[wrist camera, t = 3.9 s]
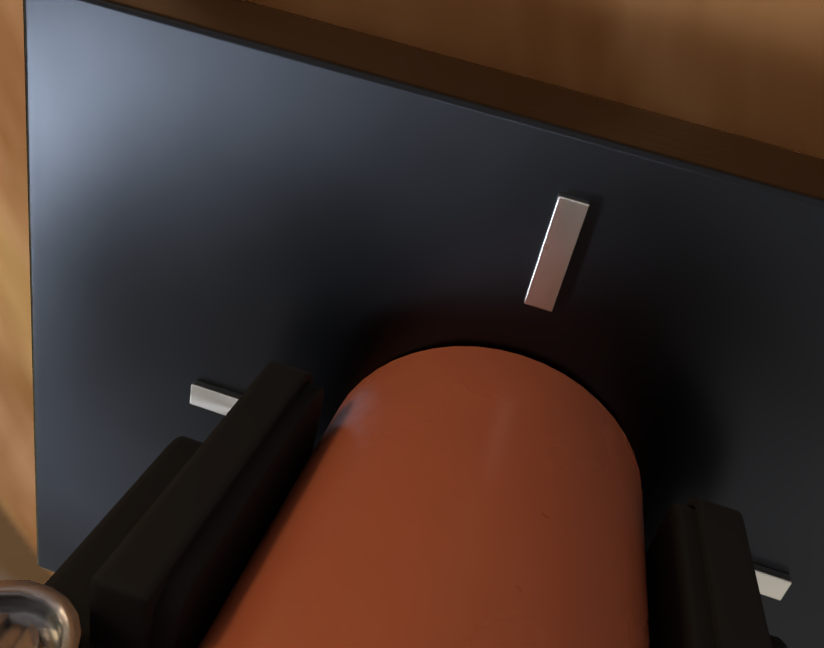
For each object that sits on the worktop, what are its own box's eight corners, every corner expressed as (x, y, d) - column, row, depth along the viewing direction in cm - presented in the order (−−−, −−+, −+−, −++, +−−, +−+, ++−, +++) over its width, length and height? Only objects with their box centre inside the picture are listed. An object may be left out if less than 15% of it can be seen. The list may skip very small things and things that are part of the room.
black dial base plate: (1131, 241, 10) (1292, 334, 8) (783, 716, 15) (814, 862, 12) (133, -31, 11) (9, -24, 9) (113, 483, 16) (28, 574, 14)
